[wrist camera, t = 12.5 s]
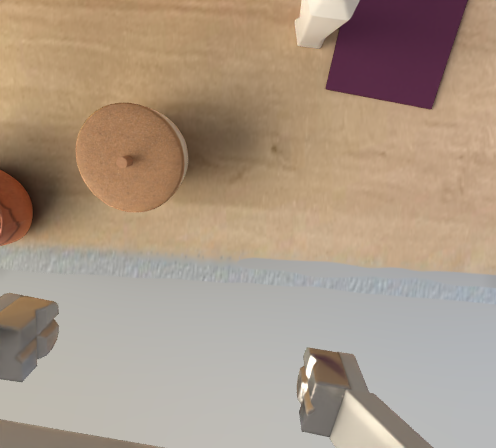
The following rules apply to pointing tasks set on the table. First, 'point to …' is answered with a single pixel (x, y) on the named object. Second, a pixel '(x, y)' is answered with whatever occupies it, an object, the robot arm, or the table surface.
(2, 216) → the potted flower
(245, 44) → the table surface
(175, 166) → the trinket box
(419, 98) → the cloth
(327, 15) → the white faceted vase
